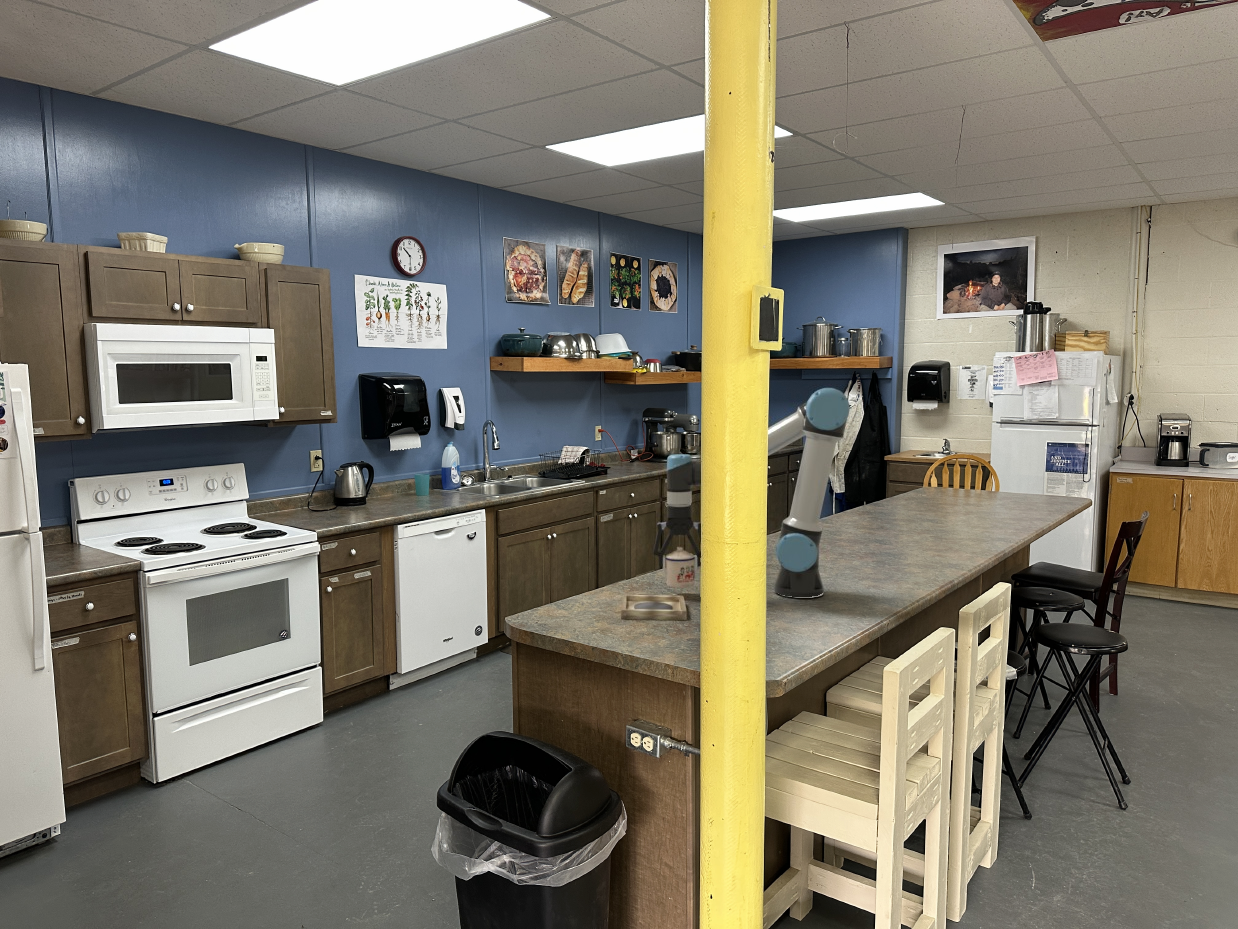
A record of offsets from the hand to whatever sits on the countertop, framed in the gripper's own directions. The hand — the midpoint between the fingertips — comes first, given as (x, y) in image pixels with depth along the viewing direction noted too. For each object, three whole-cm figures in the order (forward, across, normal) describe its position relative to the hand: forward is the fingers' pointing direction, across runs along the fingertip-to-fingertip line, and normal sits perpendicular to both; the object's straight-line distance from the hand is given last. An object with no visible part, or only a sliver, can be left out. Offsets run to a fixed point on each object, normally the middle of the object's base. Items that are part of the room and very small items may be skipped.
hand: (680, 577), depth 255 cm
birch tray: (+5, +9, +19) cm, 22 cm away
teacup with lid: (+2, -1, 0) cm, 3 cm away
